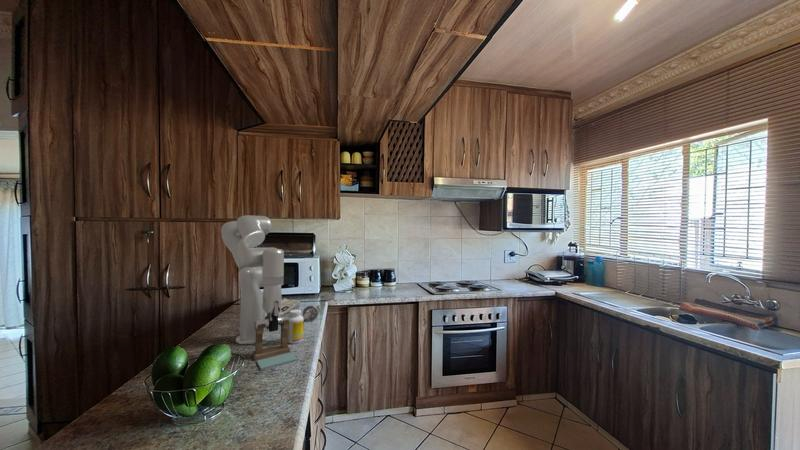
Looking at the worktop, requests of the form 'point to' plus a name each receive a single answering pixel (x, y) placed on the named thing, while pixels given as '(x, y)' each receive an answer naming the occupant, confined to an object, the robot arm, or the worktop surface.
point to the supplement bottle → (295, 327)
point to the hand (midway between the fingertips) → (272, 329)
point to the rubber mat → (276, 360)
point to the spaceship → (311, 313)
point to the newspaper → (287, 306)
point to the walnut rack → (273, 350)
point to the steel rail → (266, 321)
